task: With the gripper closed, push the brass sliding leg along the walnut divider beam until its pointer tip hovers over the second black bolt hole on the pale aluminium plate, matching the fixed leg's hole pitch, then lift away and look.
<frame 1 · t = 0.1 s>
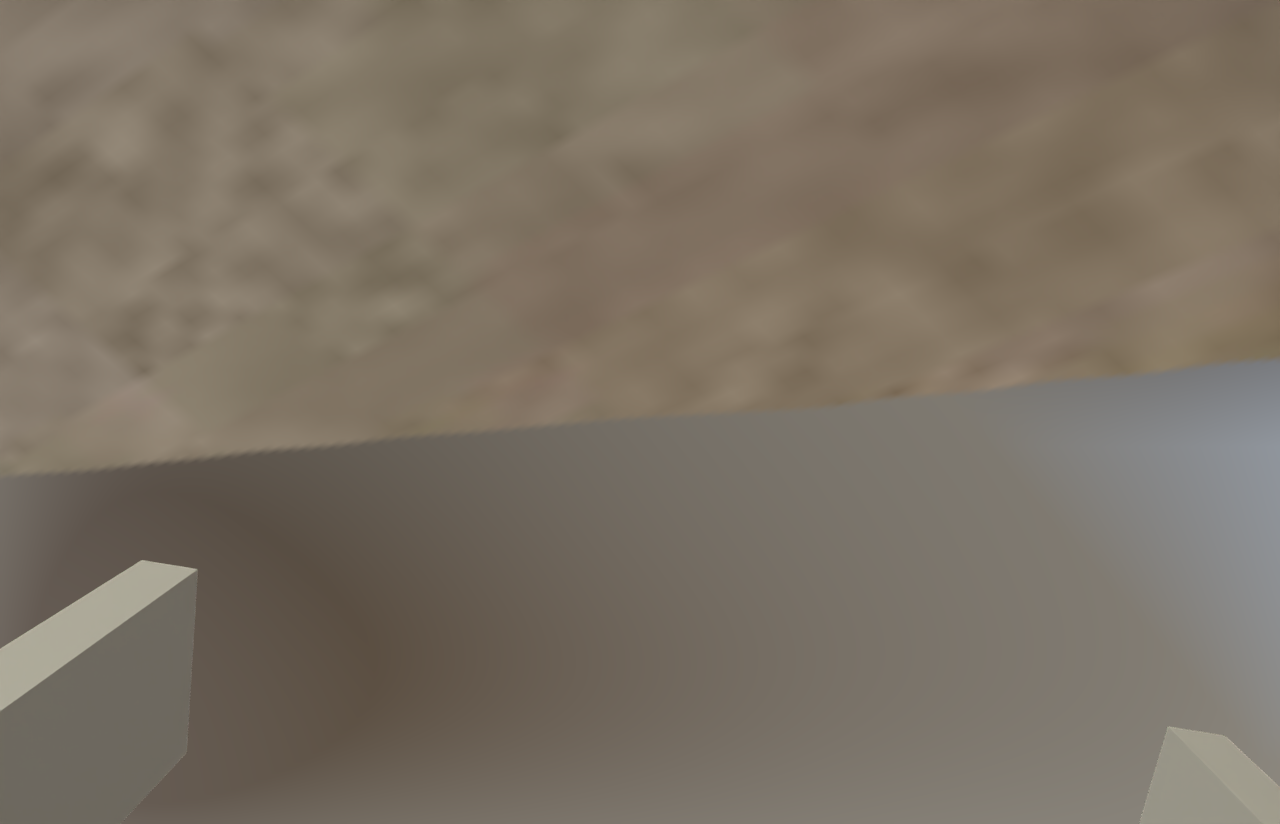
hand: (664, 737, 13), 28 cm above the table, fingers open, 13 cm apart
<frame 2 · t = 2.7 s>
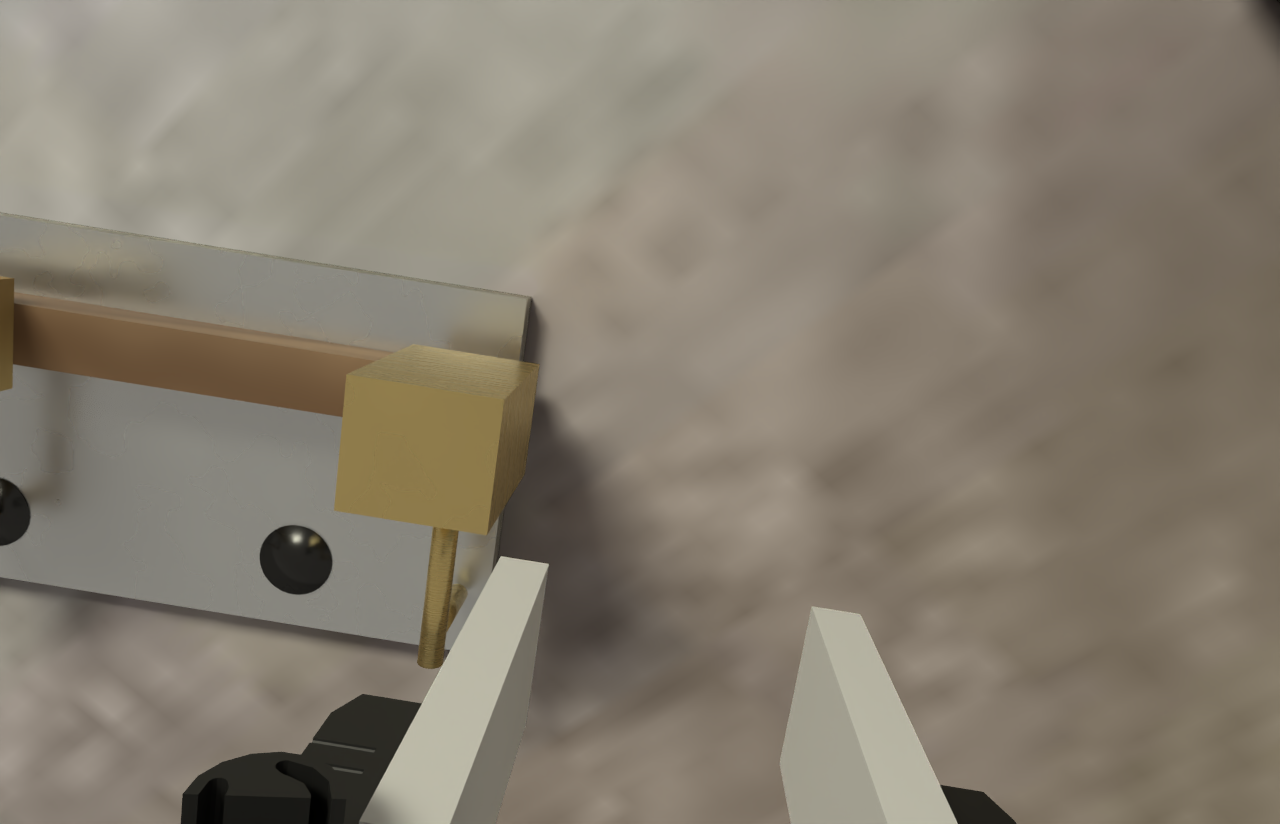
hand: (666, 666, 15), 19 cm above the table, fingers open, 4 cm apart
hole plate: (220, 430, 34), on the table
slider leg: (442, 523, 28), point 5 cm above the table, slide at 6.0 cm
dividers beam: (239, 350, 33), resting on hole plate
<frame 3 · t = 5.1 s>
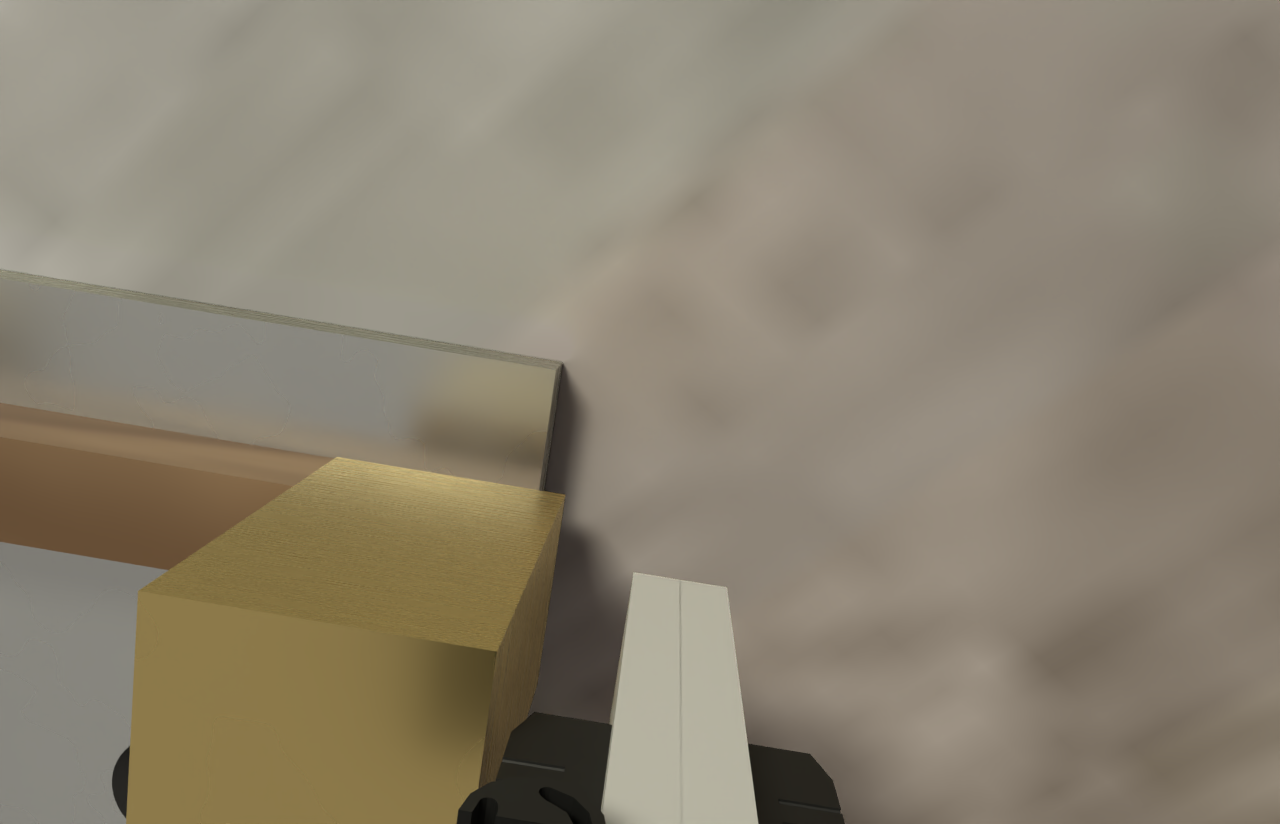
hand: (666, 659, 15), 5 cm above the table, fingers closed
hole plate: (50, 573, 21), on the table
slider leg: (383, 800, 15), point 5 cm above the table, slide at 5.7 cm, touching gripper
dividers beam: (77, 446, 20), resting on hole plate
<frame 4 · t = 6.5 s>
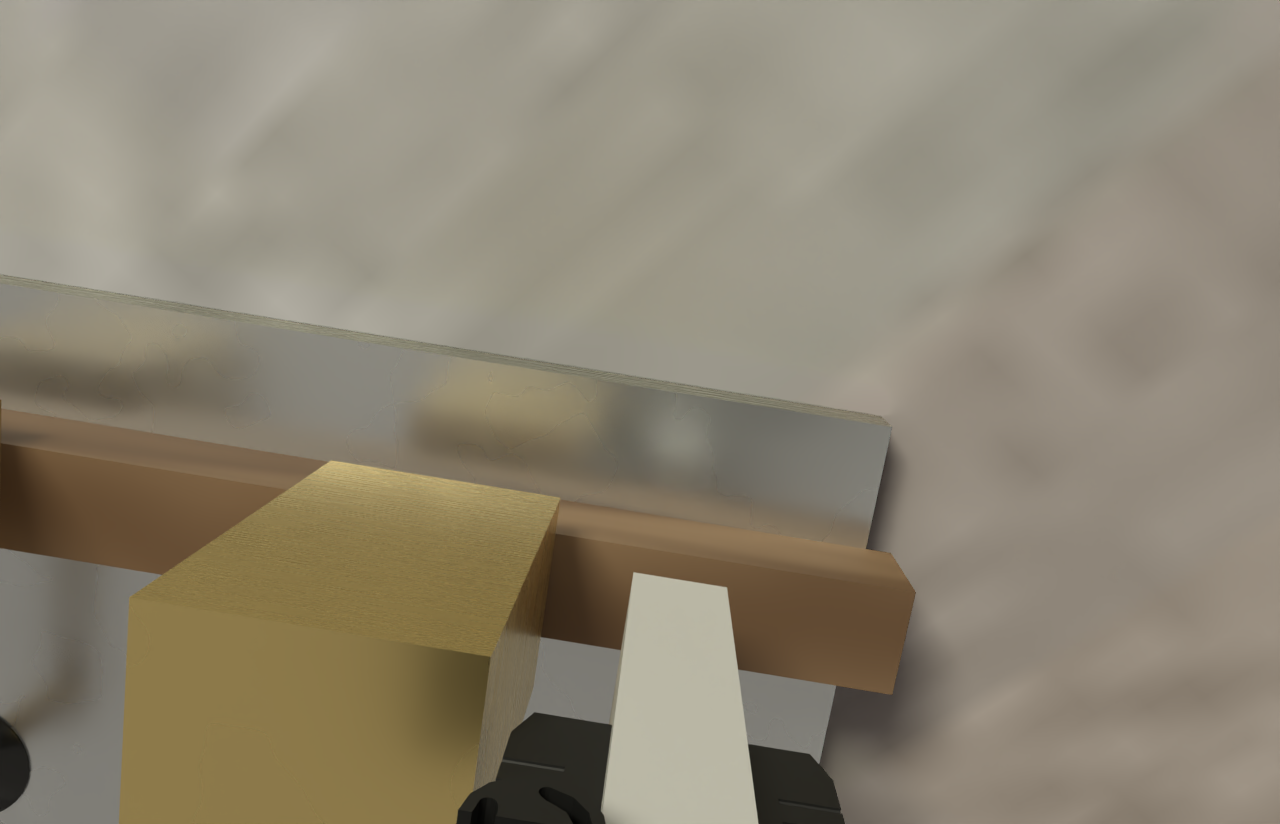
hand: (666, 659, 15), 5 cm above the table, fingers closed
hole plate: (343, 627, 20), on the table
slider leg: (379, 805, 15), point 6 cm above the table, slide at -0.9 cm, touching gripper
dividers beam: (379, 501, 20), resting on hole plate
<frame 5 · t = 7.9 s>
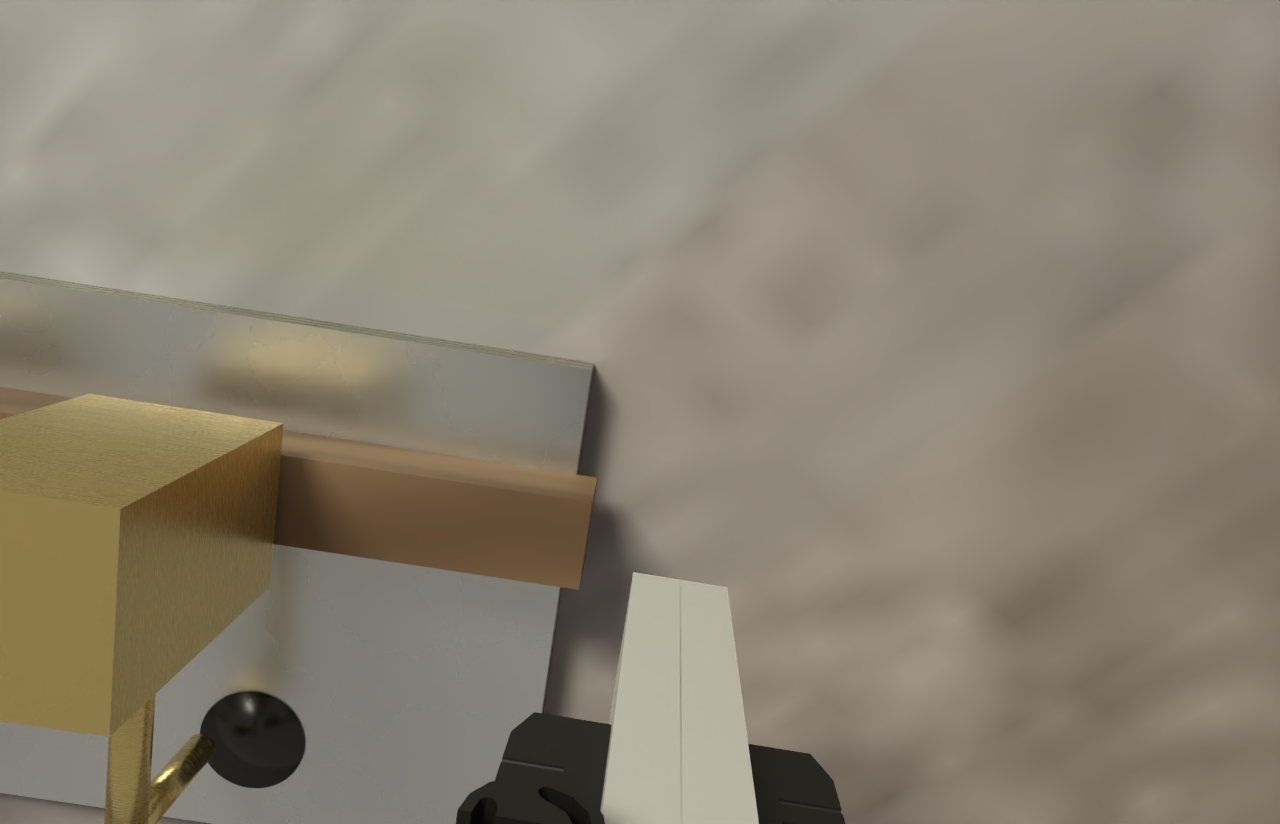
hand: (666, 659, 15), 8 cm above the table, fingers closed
hole plate: (142, 553, 23), on the table
slider leg: (118, 675, 18), point 5 cm above the table, slide at -1.0 cm
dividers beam: (168, 441, 23), resting on hole plate
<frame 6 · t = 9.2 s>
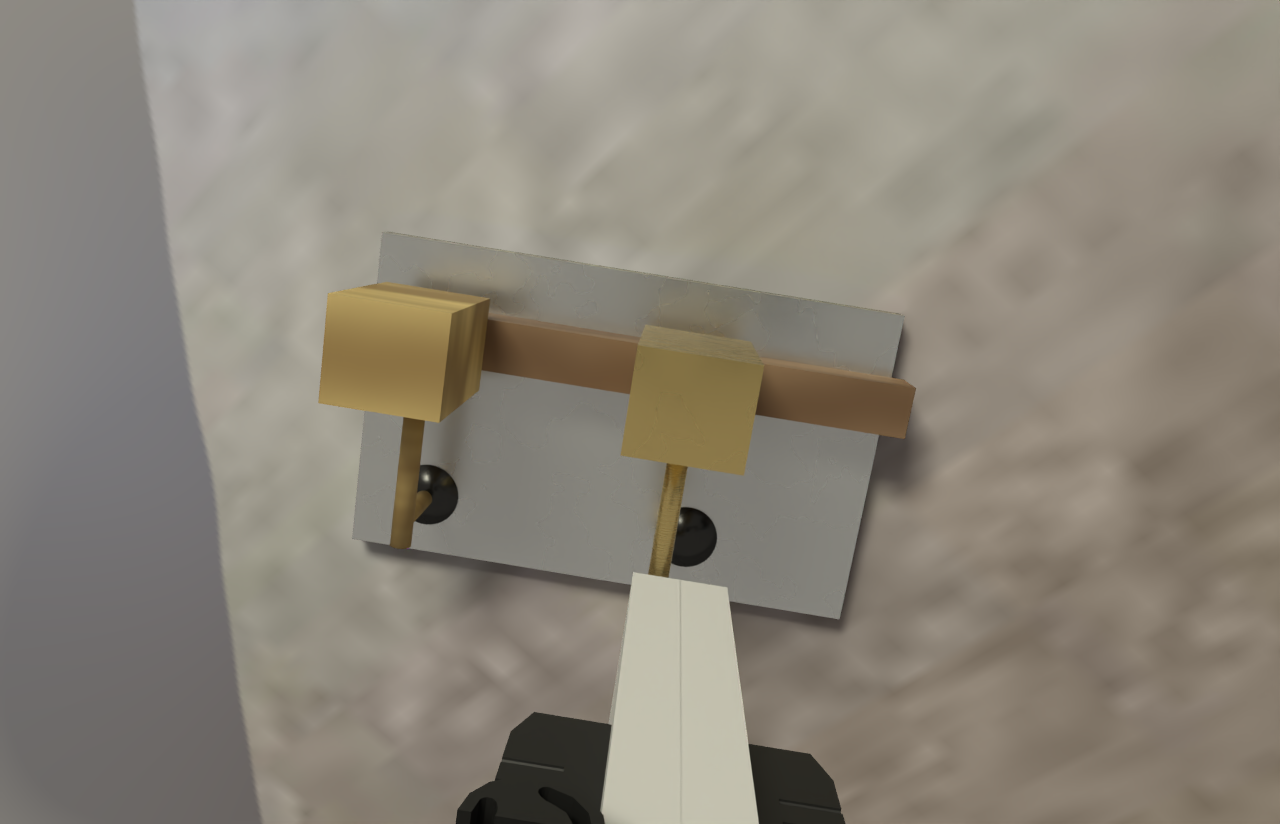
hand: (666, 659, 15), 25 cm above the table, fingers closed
hole plate: (619, 426, 39), on the table
slider leg: (676, 472, 34), point 6 cm above the table, slide at -1.0 cm
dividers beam: (642, 358, 39), resting on hole plate
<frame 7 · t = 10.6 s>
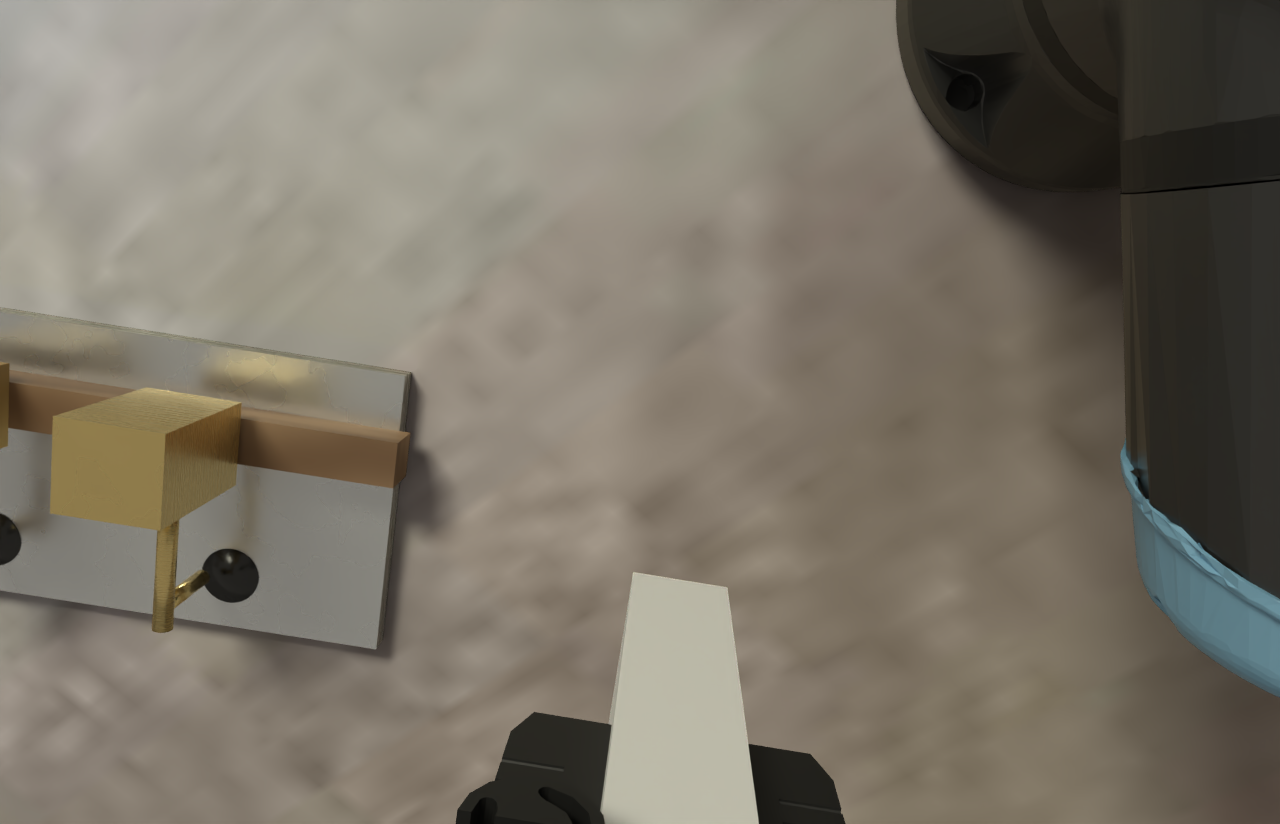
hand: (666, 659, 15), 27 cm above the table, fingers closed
hole plate: (170, 474, 43), on the table
slider leg: (160, 522, 38), point 6 cm above the table, slide at -1.0 cm
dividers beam: (185, 413, 42), resting on hole plate
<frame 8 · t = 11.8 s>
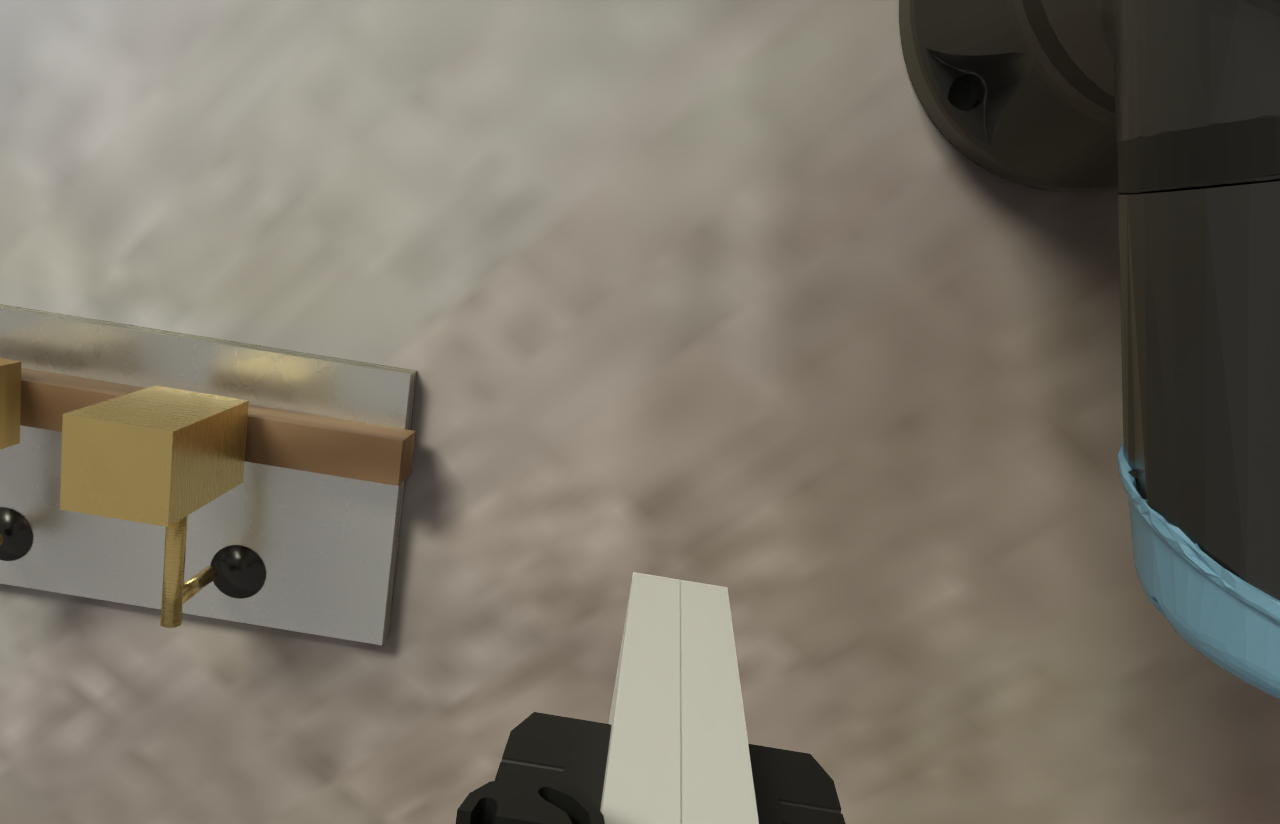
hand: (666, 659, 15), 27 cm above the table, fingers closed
hole plate: (179, 471, 43), on the table
slider leg: (169, 518, 38), point 6 cm above the table, slide at -1.0 cm
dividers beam: (194, 411, 43), resting on hole plate
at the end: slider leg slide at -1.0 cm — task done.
